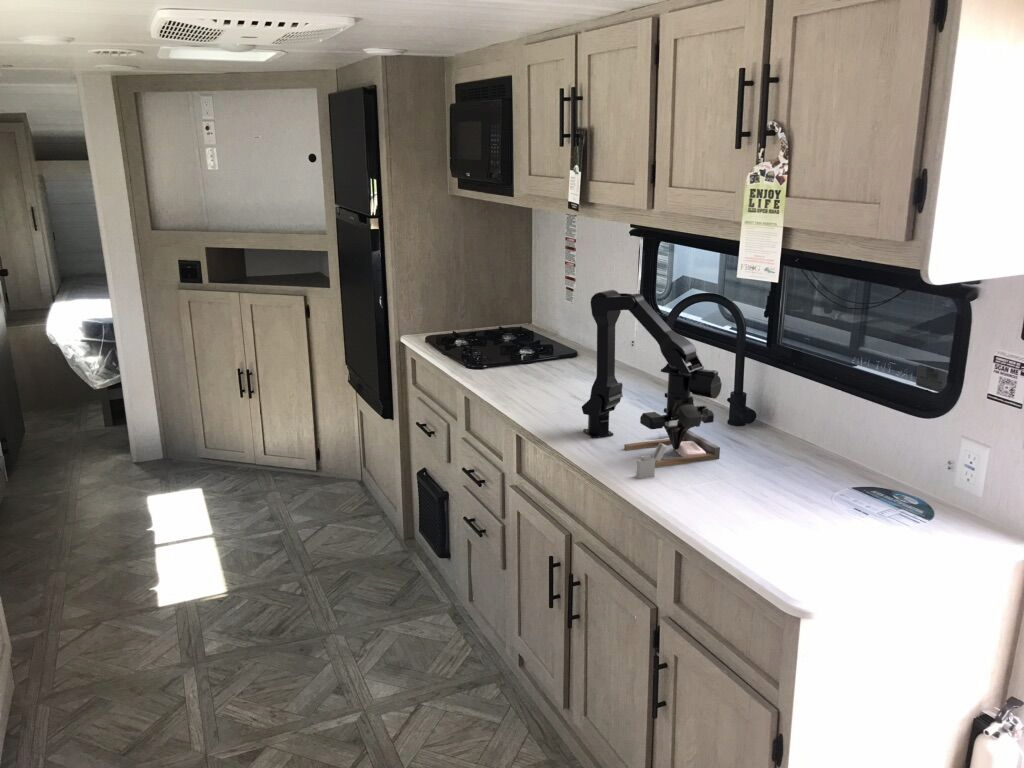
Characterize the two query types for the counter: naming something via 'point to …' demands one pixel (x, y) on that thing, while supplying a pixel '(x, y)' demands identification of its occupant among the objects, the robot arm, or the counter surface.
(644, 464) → the lighter
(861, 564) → the counter surface
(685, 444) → the soap bar
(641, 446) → the guide channel
